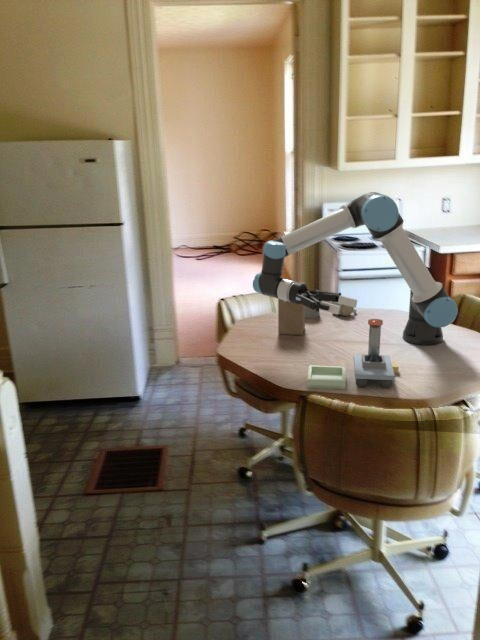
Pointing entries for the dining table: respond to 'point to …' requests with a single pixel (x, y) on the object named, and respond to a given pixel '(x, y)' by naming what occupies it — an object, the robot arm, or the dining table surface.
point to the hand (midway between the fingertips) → (347, 307)
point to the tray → (326, 377)
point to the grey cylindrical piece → (311, 313)
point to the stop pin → (374, 339)
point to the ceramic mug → (345, 309)
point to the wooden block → (291, 317)
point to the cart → (374, 370)
